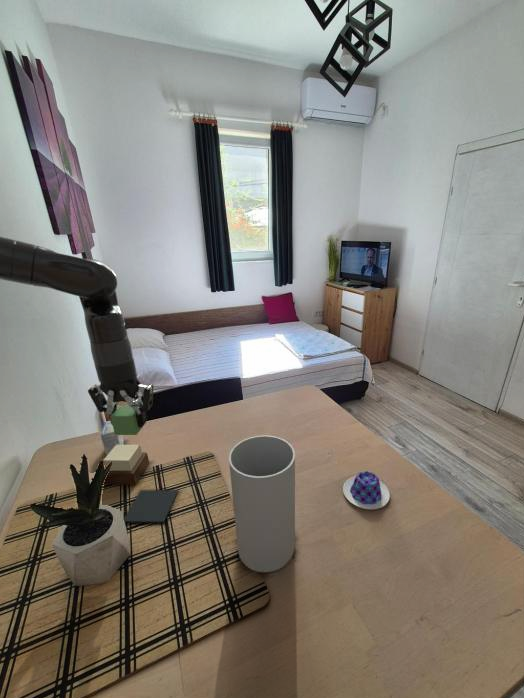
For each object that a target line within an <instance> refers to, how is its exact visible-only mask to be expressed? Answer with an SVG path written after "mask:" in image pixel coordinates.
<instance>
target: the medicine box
mask: <svg viewBox="0 0 524 698" xmlns="http://www.w3.org/2000/svg"><path fill="white" fill-rule="evenodd" d="M100 438H101V442H102V445H103V449H104V452H105V455H106V456H107V455H108V454H109V453H110V451H111V450H112V449H113V448H114V447H115V445H125V439H124V435H115V433H114V429H113V425H112V424H111V421H110V420H108V421H104V422H103V425H102V430H101V433H100Z"/></svg>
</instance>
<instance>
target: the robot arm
mask: <svg viewBox="0 0 524 698" xmlns="http://www.w3.org/2000/svg"><path fill="white" fill-rule="evenodd" d="M0 280H2V281H6V282H11V283H16V284H23V285H27V286H33V287H39V288H47V289H52V290H54V291H58V292H62V293H65V294H69V295H73V296H76V297H78V298H79V302H80V304H81V307H82V310H83V316H84V323H85V328H86V332H87V336H88V340H89V345H90V352H91V356H92V360H93V364H94V368H95V372H96V376H97V379H98V382H99V383H100V384H94V385H92V386H91V387H90V388H89V389H87V393H88V395H89V397H90V398H91V400H92V402H93V404H94V406H95V407H96V410H97V411H98V412H99V413H106V414H107V415H108V417H109V421H111V417H110V416H111V415H112V414H113V413H114V412H115V411H116V410H117V409H118V404H119V403H120V402H122V403H126V404H127V405H129V406H130V407H132V408H133V410H134V411H135V413H136V419H137V423H138V427H139V428H142V429H143V427H144V426H145V425H146V423H147V421H148V419H147V415H146V413H147V412H148V411H150V410H151V408H152V406H153V402H154V400H153V399H154V384H152V383H149V384H148V385H145V384H141V382H140V380H139V379H138V372H137V368H136V362H135V358H134V354H133V353H134V352H133V349H132V345H131V342H130V340H129V336H128V331H127V328H126V327H127V326H126V322H125V319H124V314H123V313H122V311H121V309H120V306H119V301H118V296H117V291H116V290H117V288H118V278H117V275H116V273H115V272H114V271H113V269H112V268H111V266H109V265H107V264H106V263H104V262H103V261H101V260H98V259H96V258H95V259H94V258H82V257H77V256H73V255H68V254H64V253H59V252H56V251H54V250H52V249H50V248H47V247H43V246H40V245H36V244H33V243H30V242H29V243H28V242H25V241H21V240H17V239H12V238H8V237H4V236H0ZM139 391H140V393H141V395H140V394H139ZM105 396H107V398H106V397H105ZM141 396H143V398H142V397H141ZM111 424H112V421H111ZM144 424H145V425H144Z"/></svg>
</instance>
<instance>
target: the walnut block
mask: <svg viewBox="0 0 524 698" xmlns="http://www.w3.org/2000/svg"><path fill="white" fill-rule="evenodd" d="M148 455H149V454H148V452H147V451H146V452H145V451H144V452H143V451H142V456H141V457H140V459H139V460H138V461H137V463H136V464H135V466H134V467H133V469H132V470H131V471H109V473H108V475H107V477H106V479H105V482H104V483H103V485H104V486H105V485H111V486H112V485H117V486H118V485H119V486H121V485H122V486H123V485H125V486H136V485H137V484H138V482H139V481H140V479H141V477H142V476H143V474H144V473H145V471H146V470H147V468H148V467H149V465H150V459H149V456H148Z"/></svg>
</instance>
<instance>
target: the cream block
mask: <svg viewBox="0 0 524 698" xmlns="http://www.w3.org/2000/svg"><path fill="white" fill-rule="evenodd" d="M142 452H143V451H142V448H141V444H124V445H115V447H114V448H113V449H112V450H111V451H110V453H109V454H108V455H106V456H105V457H104V458H103V460H102V461H103V465H104V468H106V467H107V466H108V465H109V464H110V463H111V462H112V466H111V469H110V471H131V470H132V469H133V467H134V466H135V464H136V463H137V461H138V460H139V459H140V457H141V456H142Z"/></svg>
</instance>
